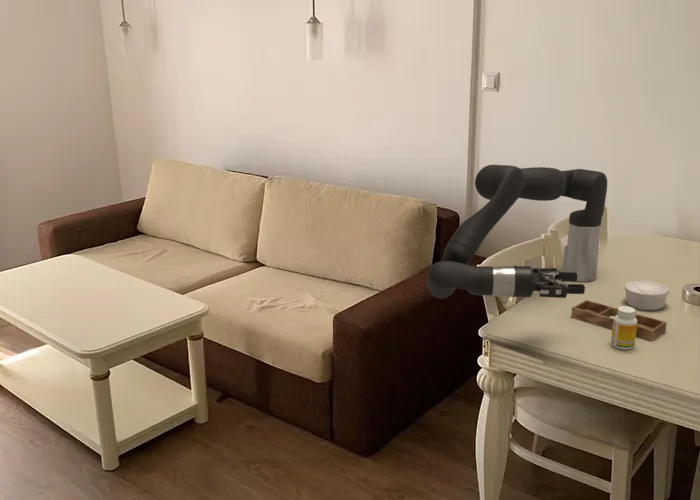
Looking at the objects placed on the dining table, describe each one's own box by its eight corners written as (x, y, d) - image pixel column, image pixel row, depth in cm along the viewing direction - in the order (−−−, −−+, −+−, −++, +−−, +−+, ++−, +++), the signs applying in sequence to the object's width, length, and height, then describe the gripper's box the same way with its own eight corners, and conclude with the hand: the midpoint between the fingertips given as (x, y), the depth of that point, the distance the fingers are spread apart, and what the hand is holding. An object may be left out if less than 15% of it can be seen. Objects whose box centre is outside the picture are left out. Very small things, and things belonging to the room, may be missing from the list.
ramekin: (615, 303, 199) (616, 286, 198) (637, 294, 206) (639, 277, 204) (652, 316, 191) (654, 297, 189) (674, 305, 197) (676, 287, 196)
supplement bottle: (606, 343, 175) (609, 307, 172) (622, 339, 177) (626, 303, 174) (623, 352, 170) (627, 315, 167) (639, 347, 173) (643, 310, 170)
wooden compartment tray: (571, 317, 191) (572, 307, 190) (585, 309, 196) (586, 299, 195) (651, 341, 176) (653, 331, 175) (665, 331, 181) (666, 322, 180)
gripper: (515, 276, 163) (588, 277, 162) (508, 257, 177) (575, 258, 176) (514, 307, 166) (585, 308, 164) (506, 286, 179) (573, 287, 178)
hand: (580, 282), depth 170 cm, fingers open, 8 cm apart
